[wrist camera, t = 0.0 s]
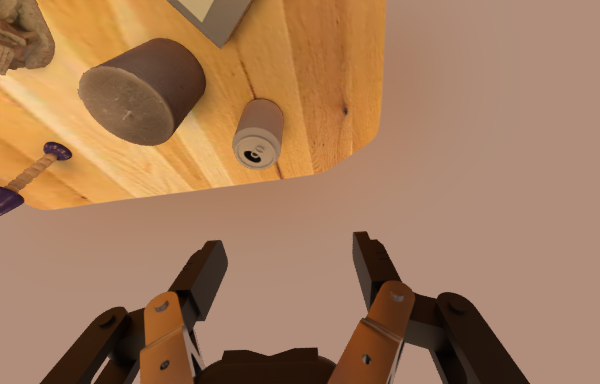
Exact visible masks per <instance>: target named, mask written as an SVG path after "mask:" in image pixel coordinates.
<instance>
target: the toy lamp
mask: <svg viewBox="0 0 600 384" xmlns="http://www.w3.org/2000/svg"><path fill="white" fill-rule="evenodd" d="M43 149H44V152H45V155H44V156H43V158H41V159H39V160H38V161H37V162H36V163H34V164H32V165H31V166H30V168H28V169H26V170H24V172H23V174H20V175H18V176H17V177H16V179H15V180H12V181H11V182H10V183H9V184H8V186H5V187H0V216H1V215H3V214H5V213H7V212H9V211H11V210H12V209H14V208H16V207H18V206H20V205H21V204H22V203H24V198H23V197H22V196H21V195H19V194H18V192H19V190H21V189H23V188H24V187H25V186H26V184H28V183H30V182H31V181H32V180H33V178H35V177H37V176H38V175H39V173H41V172H43V171H44V170H45V169H46V168H47V167H49V166H50V165H51V163H53V162H55V161H56V160H67V159H69V158H71V157H72V154H71V152H70V151H69V150H68V149H67V148H66V147H64V146H63V145H61V144H58V143H55V142H47V143H46V144H45V145H44V148H43Z"/></svg>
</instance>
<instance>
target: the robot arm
mask: <svg viewBox="0 0 600 384" xmlns="http://www.w3.org/2000/svg"><path fill="white" fill-rule="evenodd" d="M353 261H354V265H355V268H356V272H357V275H358V279H359V282H360V286H361V289H362V293H363V296H364V300H365V303H366V307H367V310H368V314H367V316H366V318H365V319H364V318H362V319H361V320H360V322H359V323H358V325H357V327H356V329H355V331H354V333H353V335H352V337H351V339H350V341H349V343H348V344H347V346H346V349H345V350H344V352H343V354H342V356H341V358H340V360H339V362H338V364H335V363H334V362H332V361H331V360H329V359H327V358H325V357H322V356H318V349H317V348H294V349H291V350H288V351H284V352H281V353H278V354H275V355H272V356H266V355H263V354H259V353H256V352H252V351H249V350H230V351H229V350H228V351H224V353H223V357H222V360H219V361H217V362H214V363H213V364H211V365H209V366H208V367H205V365H204V362H203V359H202V355H201V352H200V348H199V344H198V340H197V337H196V333H195V330H194V328H193V327H194V325H195V322H196V321H205V319H206V316H207V314H208V312H209V310H210V307H211V305H212V303H213V300H214V298H215V296H216V293H217V291H218V289H219V286H220V284H221V282H222V279H223V277H224V275H225V272H226V270H227V266H228V260H227V256H226V253H225V250H224V247H223V244H222V241H221V240H214V241H207V242H206V243H205V245H204V247H203V248H202V249H201V250H198V251H197V252H196V253H194V254H193V255H192V256H191V257H190V259H189V260H188V262H187V264H186V265H185V266H184V268H183V270H182V271H181V272H180V274H179V275H178V277H177V278H176V279H175V281H174V283H173V284H172V286H171V287H170V288H169V290H168V291H167V292H165V293H162V294H160V295H158V296H156V297H155V298H154V299H152V300H151V301H150V302H149V303H148V305H147V306H146V307H145V308H142V309H139V310H136V311H133V312H130V313H128V312H127V311H126V309H125V308H124V307H115V308H111V309H110V310H107V311H105V312H104V313H102V314H101V315H99V316H98V317H97V318H96V319H95V320H94V321H93V322H92V323H91V324H90V325H89V326H88V328H87V329H86V330H85V331H84V332H83V333H82V335H81V336H80V337H79V338H78V339H77V340H76V342H75V343H74V344H73V345H72V347H70V349H69V350H68V351H67V352H66V353H65V355H64V356H63V357H62V358H61V359H60V360H59V362H58V363H57V364H56V365H55V366H54V367H53V369H52V370H51V371H50V372H49V373H48V374H47V376H46V377H45V378H44V379H43V380H42V382H41V383H40V384H91V381H92V378H93V377H94V375H95V373H96V372H97V371H98V369H99V368H100V366H101V365H102V363H103V362H104V361H105V359H106V357H107V356H108V357H109V358H110V360H109V362H108V363H107V365H106V366H105V368H104V369H103V371H102V372H101V374H100V375H99V377H98V378H97V380H96V381H95V383H94V384H132V382H133V381H134V379H135V377H136V375H137V373H138V371H139V369H140V379H141V381H140V382H141V384H393V381H394V377H395V374H396V371H397V368H398V365H399V361H400V358H401V355H402V351H403V349H404V345H405V342H406V343H410V344H413V345H416V346H419V347H423V348H426V349H429V352H430V354H431V356H432V358H433V361H434V363H435V366H436V368H437V371H438V373H439V375H440V378H441V380H442V382H443V384H530V383H529V382H528V380H527V379H526V378H525V376H524V375H523V373H522V372H521V370H520V369H519V368H518V366H517V365H516V364H515V362H514V361H513V359H512V358H511V356H510V355H509V354H508V352H507V351H506V349H505V348H504V347H503V345H502V344H501V343H500V341H499V340H498V338H497V337H496V335H495V334H494V333H493V331H492V330H491V328H490V327H489V326H488V324H487V323H486V321H485V320H484V319H483V317H482V316H481V315H480V313H479V312H478V310H477V309H476V307H475V306H474V305H473V304H472V303H471V302H470V301H469V300H467V299H466V298H465V297H462V296H461V295H458V294H455V293H451V292H444V293H441V294H440V295H439V296H438V297H437V299H435V298H431V297H427V296H423V295H419V294H416V293H414V292H413V291H412V289H410V287H408V286H407V285H406V284H404V283H402V281H401V279H400V277H399V275H398V273H397V271H396V269H395V267H394V265H393V263H392V261H391V260H390V257H389V255H388V254H387V251H386V250H385V247H384V246H383V245H382V244H381V243H380V242H379V241H378V240H370V238H369V236H368V233H367V232H366V231H364V232H353Z"/></svg>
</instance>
